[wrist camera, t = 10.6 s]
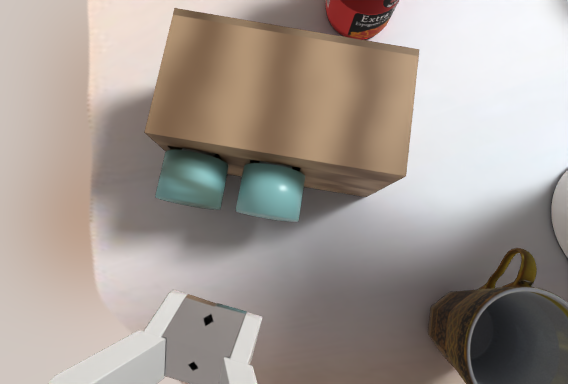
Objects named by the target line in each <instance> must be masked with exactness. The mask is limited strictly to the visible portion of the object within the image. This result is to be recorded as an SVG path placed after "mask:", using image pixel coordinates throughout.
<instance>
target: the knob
mask: <svg viewBox="0 0 568 384" xmlns="http://www.w3.org/2000/svg"><path fill="white" fill-rule="evenodd" d="M304 182H305V175H304V174H303V173H301V172H299V171H296V170H293V169H292V166H287V165H281V164H275V163H269V162H263V161H260V162H259V163H251V164H246V165H244V168H243V173H242V179H241V184H240V189H239V195H238V200H237V205H236V211H237V212H239V213H243V214H246V215H251V216H256V217H261V218H266V219H273V220H280V221H289V222H298V221H299V214H300V208H301V202H302V195H303V189H304Z"/></svg>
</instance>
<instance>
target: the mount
mask: <svg viewBox="0 0 568 384" xmlns="http://www.w3.org/2000/svg"><path fill="white" fill-rule="evenodd" d="M418 57H419V49H413V48H408V47H402V46H396V45H390V44H384V43H378V42H372V41H366V40H360V39H354V38H348V37H343V36H337V35H331V34H325V33H319V32H313V31H307V30H301V29H295V28H289V27H283V26H278V25H272V24H266V23H260V22H254V21H248V20H242V19H236V18H230V17H224V16H218V15H213V14H207V13H201V12H195V11H189V10H183V9H177V8H174V13H173V17H172V21H171V25H170V29H169V33H168V37H167V41H166V46H165V50H164V54H163V58H162V62H161V66H160V70H159V75H158V79H157V83H156V87H155V91H154V95H153V99H152V103H151V108H150V112H149V116H148V120H147V124H146V128H145V132H144V133H145V134H147V135H148V136H149V137H150V138H151V139H152V140H153V141H155V142H156V143H157V144H158V145H159V146H160V147H161V148H163V149H164V150H165V151H166V152H165V156H164V161H163V165H162V170H161V174H160V178H159V183H158V187H157V191H156V196H155V197H156V198H158V199H161V200H165V201H168V202H173V203H177V204H182V205H187V206H193V207H199V208H206V209H215V210H220V208H221V203H222V198H223V193H224V188H225V183H226V178H227V174H230V175H236V176H242V173H243V168H244V165H246V164H251V163H259V162H260V161H263V162H269V163H275V164H281V165H287V166H292V169H293V170H296V171H299V172H301V173H303V174H304V175H305V182H304V187H308V188H314V189H320V190H326V191H332V192H338V193H344V194H350V195H356V196H362V197H367V196H369V195H371V194H373V193H375V192H377V191H379V190H381V189H383V188H384V187H386V186H388V185H390V184H392V183H394V182H396V181H398V180H400V179H402V178H404V177H405V176H406V171H407V162H408V152H409V143H410V133H411V124H412V114H413V105H414V95H415V85H416V76H417V66H418Z"/></svg>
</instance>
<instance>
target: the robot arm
mask: <svg viewBox="0 0 568 384" xmlns="http://www.w3.org/2000/svg"><path fill="white" fill-rule="evenodd" d="M551 215H552V223H553V228H554V232H555V235H556V237H557V240H558V242H559V244H560V246H561V248H562V250H563V251H564V253H565V255H566V256H567V258H568V170H567V171H566V172H565V173H564V175H563V176H562V177H561V179H560V180H559V182H558V184H557V186H556V188H555V191H554V195H553V199H552V207H551ZM261 322H262V316H258V315H255V314H252V313H248V312H246V311H243V310H239V309H236V308H232V307H229V306H226V305H222V304H219V303H217V304H216V303H213V302H210V301H207V300H204V299H201V298H198V297H195V296H192V295H189V294H186V293H183V292H180V291H177V290H172V291H171V292H170V293H169V294H168V295H167V297H166V298H165V300H164V301H163V303H162V304H161V306H160V307H159V309H158V310H157V312H156V313H155V315H154V316H153V318H152V319H151V321H150V322H149V324H148V325H147V327H146V328H145V330H144V331H140V330H138V331H136V332H134V333H133V334H131V335H129V336H127V337H125V338H123V339H122V340H120V341H118V342H116V343H114V344H112V345H111V346H109V347H107V348H105V349H103V350H101V351H99V352H98V353H96V354H94V355H92V356H90V357H88V358H87V359H85V360H83V361H81V362H79V363H78V364H76V365H74V366H72V367H70V368H68V369H66V370H65V371H63V372H61V373H59V374H57V375H55V376H54V377H53V379H52V380H51V381H50V382H49V383H48V384H157V383H159V382H160V381H161V380H163V379H164V376H166V377H170V378H173V379H176V380H180V381H183V382H187V383H190V384H257V380H256V377H255V373H254V370H253V366H251V365H250V363H251V360H252V356H253V352H254V349H255V345H256V341H257V337H258V333H259V329H260V325H261Z"/></svg>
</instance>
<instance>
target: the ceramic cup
mask: <svg viewBox="0 0 568 384" xmlns="http://www.w3.org/2000/svg"><path fill="white" fill-rule="evenodd" d="M517 253H520V255H521V266H520V270H519V273H518V275H517V278H516V280H515V281H514V282H512V283H510V284H508V285H505V286H502V287H500V288H495V284H496V281H497V280H498V279H499V278H500V277H501V276H502V274H503V273H504V272H505V270H506V269H507V267H508V265H509V263H510V262H511V260H512V259H513V257H514V256H515V255H516V254H517ZM536 272H537V268H536V263H535V260H534V258H533V256H532V255H531V254H530V253H529V252H528V251H526V250H524V249H521V248H514V249H511V250H510V251H509V252H508V253H507V254H506V255H505V256H504V258H503V260H502V261H501V263H500V265H499V267H498V268H497V270H496V271H495V272H494V274H493V275H492V276H491V277H490V278H489V280H488V282H487V283H486V284H485V285H484V286H482V287H481V288H479V290H468V291H456V292H449V293H448V294H446V295H445V296H444V297H443V298H441V299H440V300H439V301H438V302H436V303H435V304H434V305H433V306H431V308H430V318H429V328H428V335H429V336H430V338H431V339H432V341H433V342H434V343H435V345H436V346H437V347H438V349H439V350H440V352H441V353H442V354H443V356H444V357H445V358H446V359H447V360H448V362H449V363H450V364H451V365H452V366H453V367H454V368H455V369H456V370H457V371H458V373H459V374H460V376H461V377H462V379H463V380H464V382H465V383H466V384H568V303H567V302H566V301H565V300H563V299H562V298H560V297H559V296H557V295H555V294H553V293H551V292H549V291H546V290H543V289H539V288H534V287H531V286H532V284H533V282H534V280H535V277H536Z"/></svg>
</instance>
